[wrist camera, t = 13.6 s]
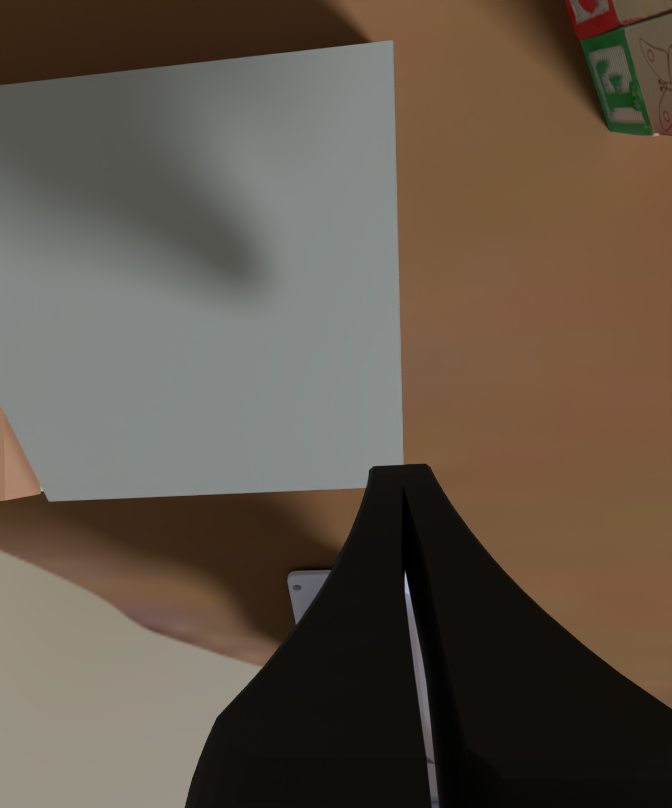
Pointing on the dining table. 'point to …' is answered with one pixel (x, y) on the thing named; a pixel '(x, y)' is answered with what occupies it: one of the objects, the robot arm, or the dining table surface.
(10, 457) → the terracotta tile
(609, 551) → the dining table surface
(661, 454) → the dining table surface
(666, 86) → the printed cardboard box
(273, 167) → the board
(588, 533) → the dining table surface
